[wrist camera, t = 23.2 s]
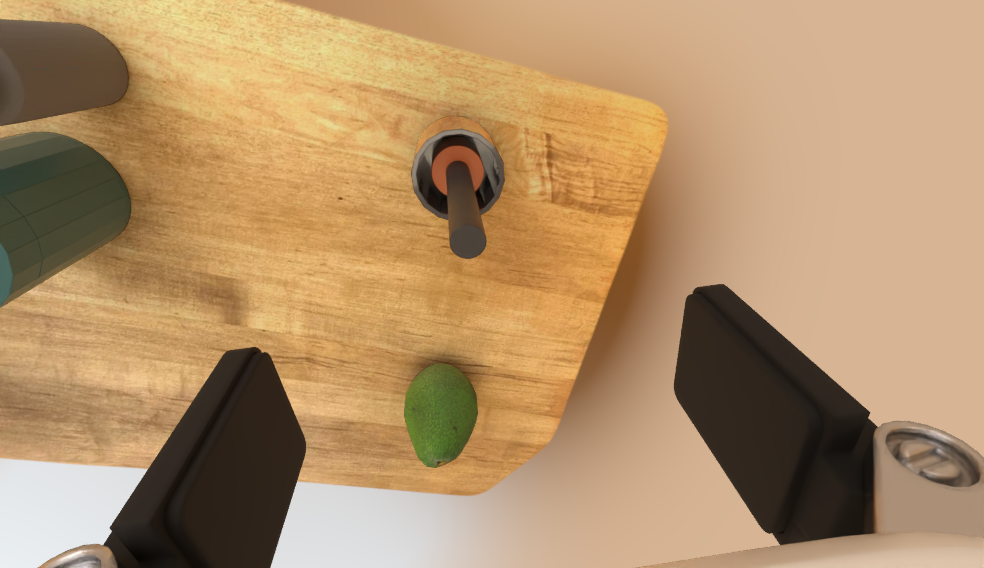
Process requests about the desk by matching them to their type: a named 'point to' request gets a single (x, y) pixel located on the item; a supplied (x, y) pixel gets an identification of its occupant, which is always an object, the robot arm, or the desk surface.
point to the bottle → (56, 70)
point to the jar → (53, 207)
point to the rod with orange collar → (460, 193)
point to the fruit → (440, 413)
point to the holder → (423, 164)
